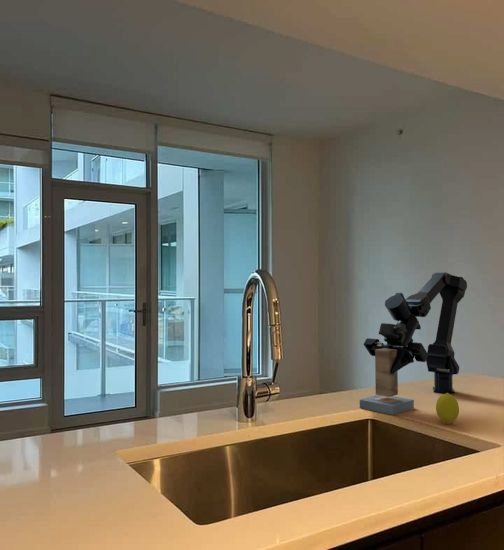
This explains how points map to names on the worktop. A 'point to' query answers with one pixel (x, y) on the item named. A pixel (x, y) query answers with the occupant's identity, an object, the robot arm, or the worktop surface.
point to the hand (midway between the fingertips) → (383, 372)
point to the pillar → (385, 372)
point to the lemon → (447, 408)
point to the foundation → (387, 404)
